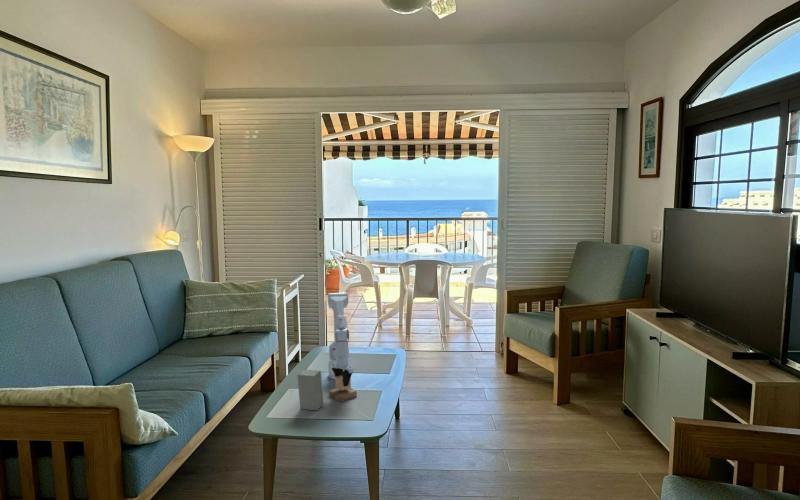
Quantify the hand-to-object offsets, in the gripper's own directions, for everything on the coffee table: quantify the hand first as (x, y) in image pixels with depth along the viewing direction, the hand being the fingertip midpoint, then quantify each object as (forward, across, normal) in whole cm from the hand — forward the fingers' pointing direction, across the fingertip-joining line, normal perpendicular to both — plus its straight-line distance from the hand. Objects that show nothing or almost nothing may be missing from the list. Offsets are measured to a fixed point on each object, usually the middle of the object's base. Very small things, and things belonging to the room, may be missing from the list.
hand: (342, 384), depth 209 cm
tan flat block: (+6, 0, 0) cm, 6 cm away
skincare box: (+6, 0, -17) cm, 18 cm away
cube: (+2, 0, 0) cm, 2 cm away
